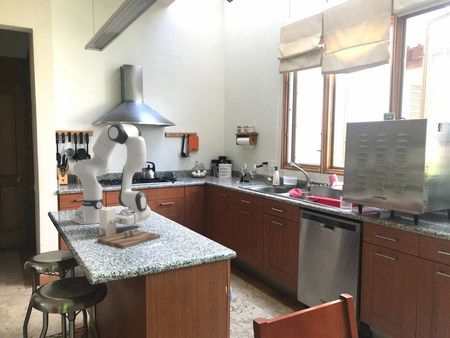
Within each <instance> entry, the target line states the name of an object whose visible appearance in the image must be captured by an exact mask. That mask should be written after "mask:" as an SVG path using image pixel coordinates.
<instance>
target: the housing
mask: <svg viewBox="0 0 450 338" xmlns="http://www.w3.org/2000/svg"><path fill="white" fill-rule="evenodd" d="M116 210H117V209H116V208H114V207H104V208H103V209H99V223H98V224H99V236H103V235H105V237H106V236H110V235H114V234H117V223H113V224H111V223H110V220H115V219H116V213H117V211H116Z"/></svg>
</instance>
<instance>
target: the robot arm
mask: <svg viewBox="0 0 450 338" xmlns="http://www.w3.org/2000/svg"><path fill="white" fill-rule="evenodd" d="M117 144H120V145H125V146H126V161H125V164H124V165H123V168H122V174H121V175H122V176H121V180H120V181H121V182H120V188H119V189H120V190H119V193H118V203H119V204H120V206H121V207H122V208H123V207H124V209H121V210H120V211H119V213H118V212H116V219H115V220H110V223H111V224H113V223H116V224H118V225H124V226H131V225H138V223H140V222H143V221H146V220H147V219H149V218H150V217H151V214H152V211H151V208H150V206H149V205H148V196H147V194H146V193H145V192H144V191H141V192H139V191H132V190H131V189H132V183H133V177H134V175H135V173H137V172H139V171H141V170H143V168H144V167H145V166H146V164H147V159H148V158H147V146H146V141H145V138H144V137H143V136H142V130H141V129H140V127H139V126H137V125H135V124H130V123H129V124H128V123H114V124H111V125H110V124H109V125H106V126H105V127H104V128H103V129H102V131H101V132H100V134H98V137H97V139H96V140H95V142H94V144H93V146H92V153H93V156H92V158H89V159H81V160H78V161H76V162H75V163H74V164H73V169H72V170H73V173H74V175H75V176H76V177H77V178H78V179H79V181H80V183H81V185H82V192H83V194H82V195H83V198H82V200H80V202H81V206H80V207H79V208H77V209H76V210H75V213H74V217H72V218H71V219H70V221H71V222H74V223H77V224H78V223H79V225H93V224H95V225H96V224H99V209H103V208H105V207H104V198H103V185H102V184H100V183H99V182H98V180H97V179H98V178H97V177H102V176H104V175H106V174H108V173H109V172H110V170H111V166H110V162H109V160H110V157H111V155H112V153H113V151H114V150H115V147H116V145H117ZM129 207H130V208H129Z"/></svg>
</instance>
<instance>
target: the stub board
mask: <svg viewBox="0 0 450 338" xmlns="http://www.w3.org/2000/svg"><path fill="white" fill-rule="evenodd" d="M160 238H161V234H160V233H159V234H158V233H154V232H149V231H144V230H140V229H134V228H133V229H130V230H125V231H122V232H118V233H117V232H116V234H114V235H110V236H106V235H105V236H102V237H99V238H96V240H97V241H96V242H97V243H101V244H105V245H108V246H113V247H115V248H116V247H117V248H121V249H127V248H131V247H134V246H136V245H140V244H144V243H147V242H150V241H154V240H157V239H160Z"/></svg>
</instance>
